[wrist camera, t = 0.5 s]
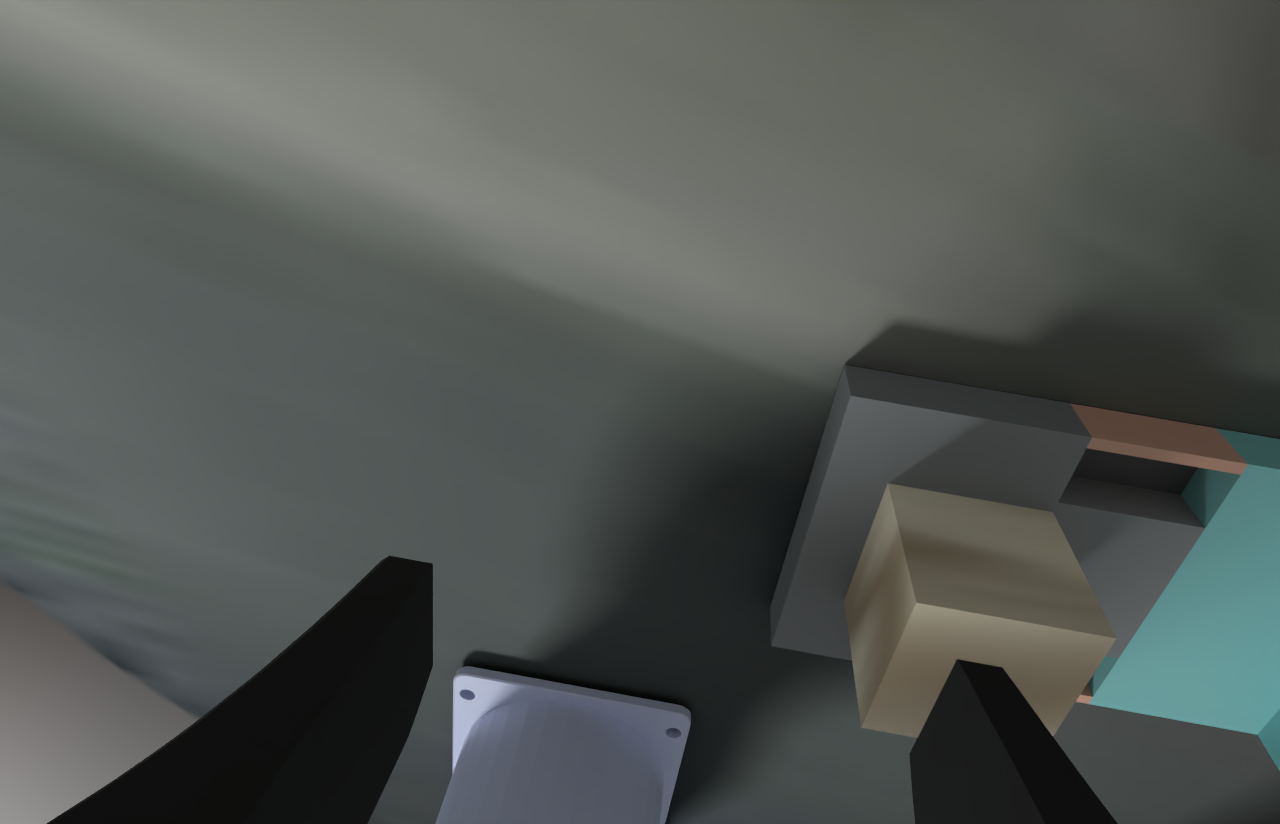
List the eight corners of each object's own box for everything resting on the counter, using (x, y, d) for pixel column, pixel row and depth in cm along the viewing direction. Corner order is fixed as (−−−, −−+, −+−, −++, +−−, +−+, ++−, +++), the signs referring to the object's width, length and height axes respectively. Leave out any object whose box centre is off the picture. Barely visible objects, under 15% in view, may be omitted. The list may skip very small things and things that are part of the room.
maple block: (992, 627, 22) (1037, 760, 18) (843, 600, 22) (861, 727, 18) (1052, 512, 19) (1116, 638, 16) (887, 483, 19) (916, 602, 16)
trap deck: (769, 607, 24) (773, 720, 21) (844, 364, 20) (863, 458, 16) (1250, 694, 24) (1334, 824, 20) (1439, 466, 19) (1586, 584, 16)
